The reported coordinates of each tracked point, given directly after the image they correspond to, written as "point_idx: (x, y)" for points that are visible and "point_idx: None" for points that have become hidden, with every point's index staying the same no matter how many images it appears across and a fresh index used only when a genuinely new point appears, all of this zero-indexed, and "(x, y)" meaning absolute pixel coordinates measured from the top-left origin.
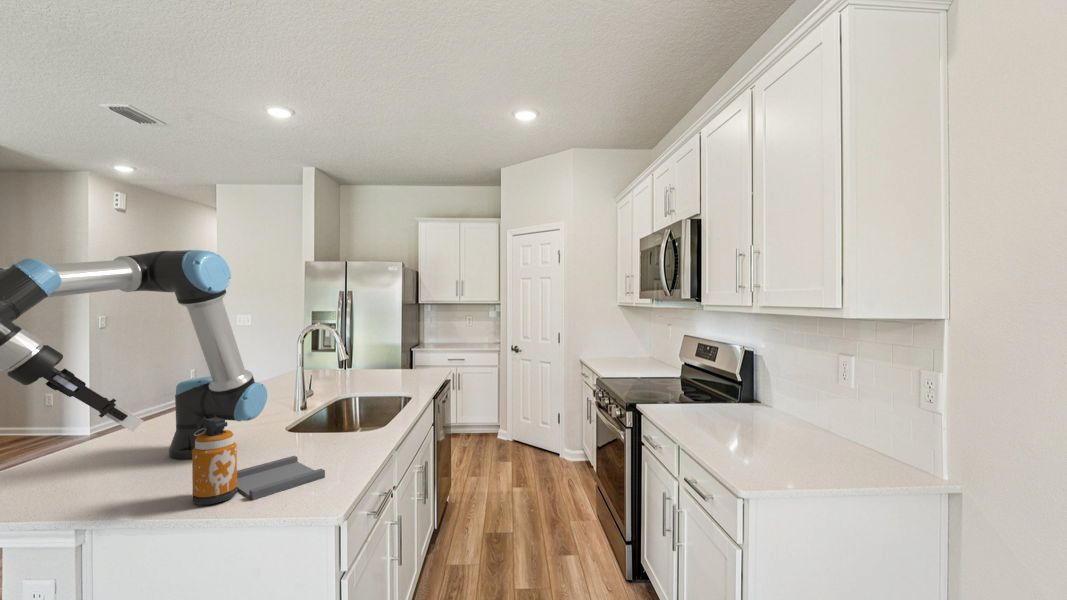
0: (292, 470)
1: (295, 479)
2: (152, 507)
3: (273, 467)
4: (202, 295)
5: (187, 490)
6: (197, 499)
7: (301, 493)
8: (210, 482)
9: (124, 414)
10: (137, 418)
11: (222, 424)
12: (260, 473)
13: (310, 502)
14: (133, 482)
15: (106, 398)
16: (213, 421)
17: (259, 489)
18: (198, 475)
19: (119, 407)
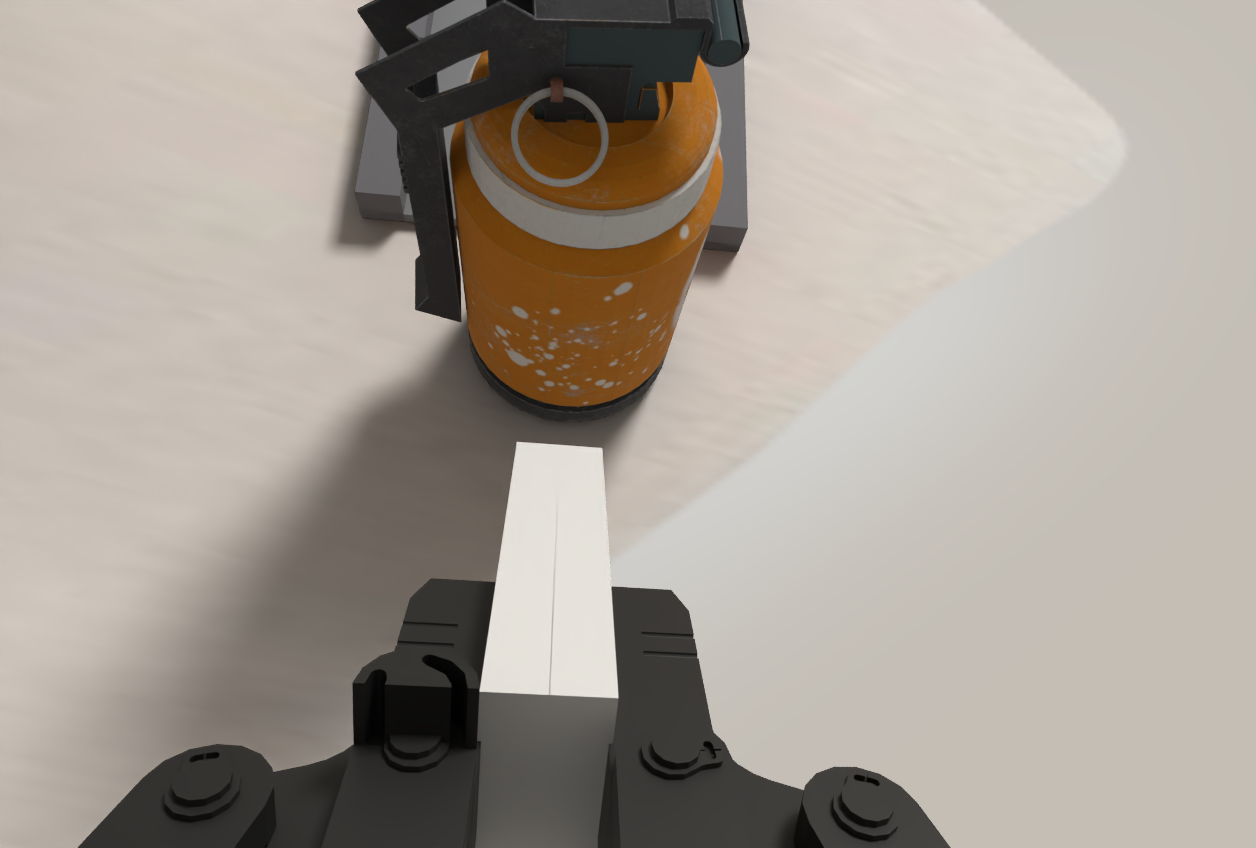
0: None
1: (743, 61)
2: (402, 562)
3: (430, 25)
4: None
5: (311, 372)
6: (606, 408)
7: (830, 112)
8: (673, 326)
9: (692, 631)
10: (604, 494)
11: (742, 11)
12: (445, 90)
13: (953, 140)
14: None
15: (230, 786)
16: (689, 21)
17: (739, 197)
18: (630, 344)
19: (608, 657)
